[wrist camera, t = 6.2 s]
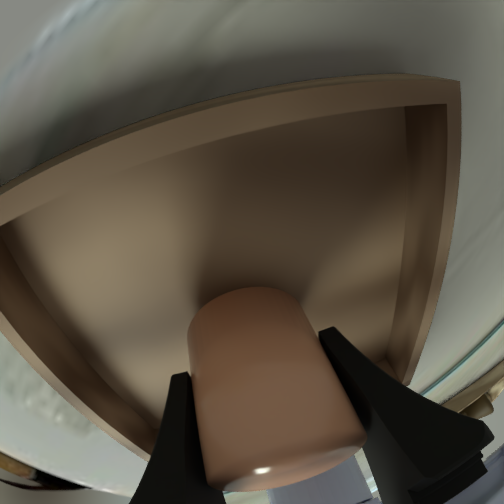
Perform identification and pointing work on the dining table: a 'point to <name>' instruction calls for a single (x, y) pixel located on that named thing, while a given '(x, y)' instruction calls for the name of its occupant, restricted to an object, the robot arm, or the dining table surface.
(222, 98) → the walnut tray
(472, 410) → the kendama
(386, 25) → the dining table surface
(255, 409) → the tan rounded cylinder
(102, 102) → the dining table surface
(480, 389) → the oak frame
